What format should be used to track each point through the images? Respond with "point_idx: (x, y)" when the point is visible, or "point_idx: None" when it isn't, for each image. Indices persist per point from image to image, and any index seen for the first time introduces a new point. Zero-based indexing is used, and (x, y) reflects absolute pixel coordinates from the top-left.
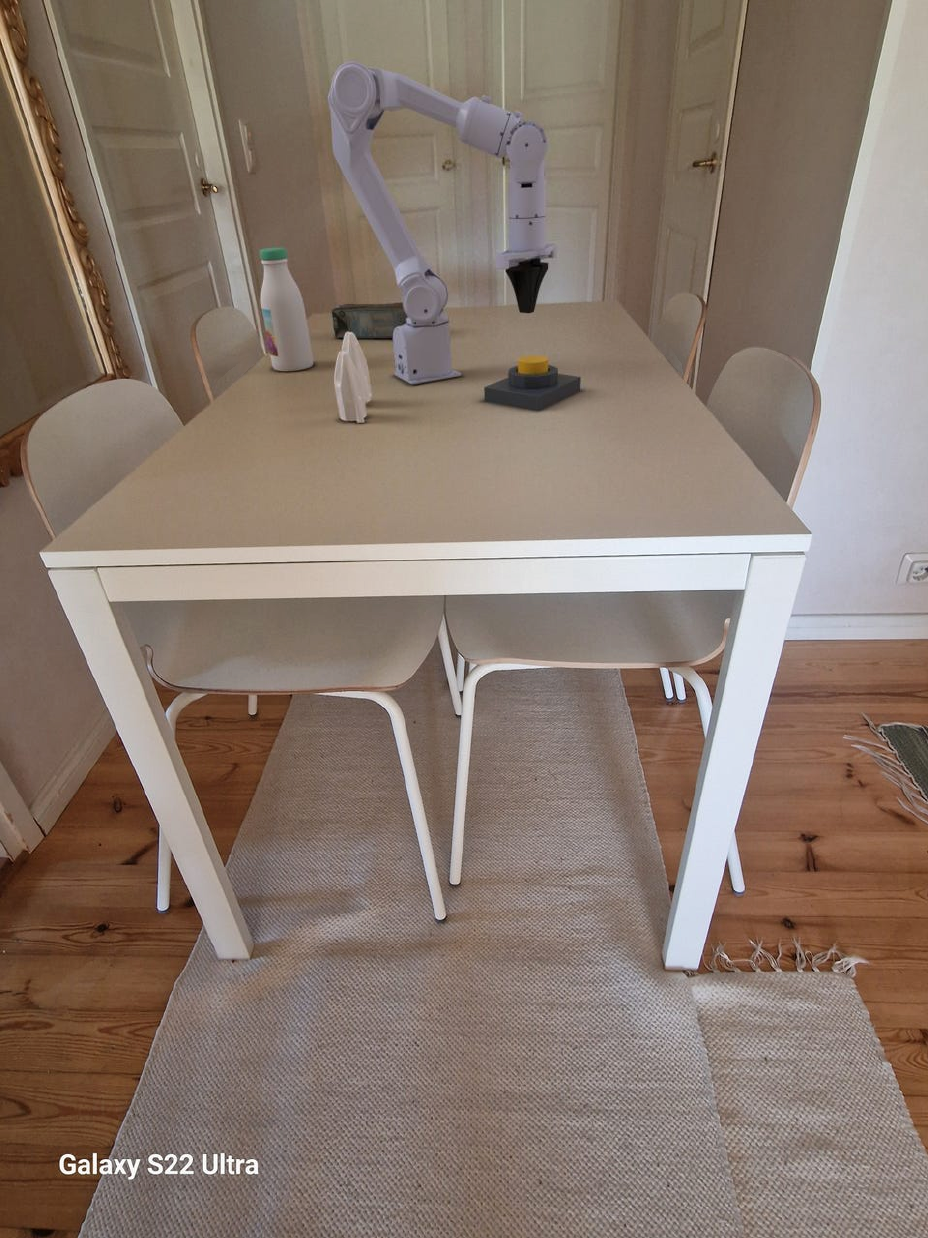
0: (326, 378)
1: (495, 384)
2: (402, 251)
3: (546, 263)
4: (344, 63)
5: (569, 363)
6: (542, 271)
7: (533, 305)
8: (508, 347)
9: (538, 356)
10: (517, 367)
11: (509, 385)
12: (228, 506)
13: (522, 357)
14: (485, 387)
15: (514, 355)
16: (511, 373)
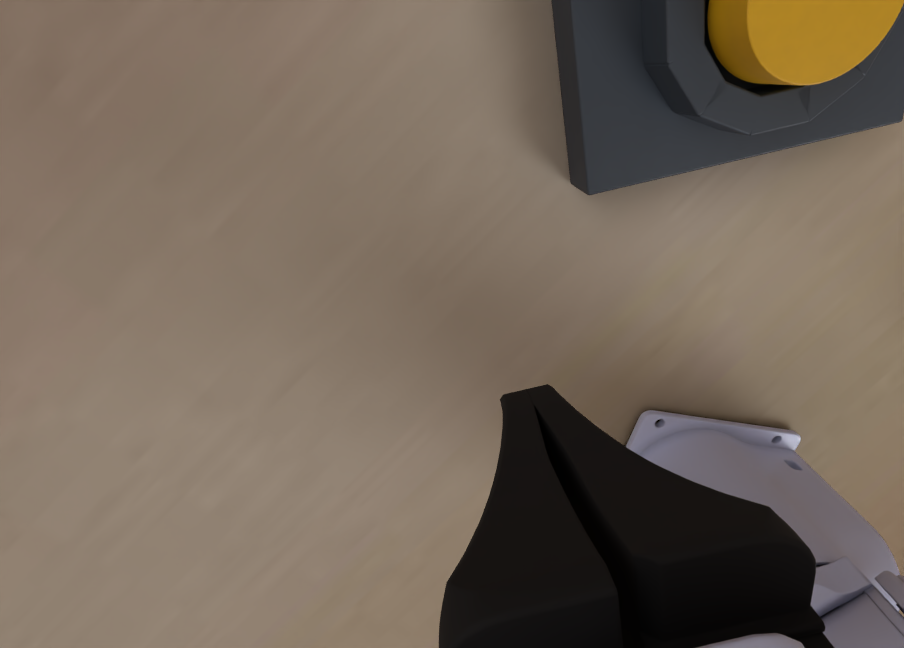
0: None
1: (852, 114)
2: None
3: (508, 622)
4: None
5: (239, 276)
6: (555, 547)
7: (531, 405)
8: (267, 573)
9: (770, 11)
10: (777, 106)
11: None
12: None
13: (820, 72)
14: (902, 114)
15: (324, 492)
16: (885, 39)
